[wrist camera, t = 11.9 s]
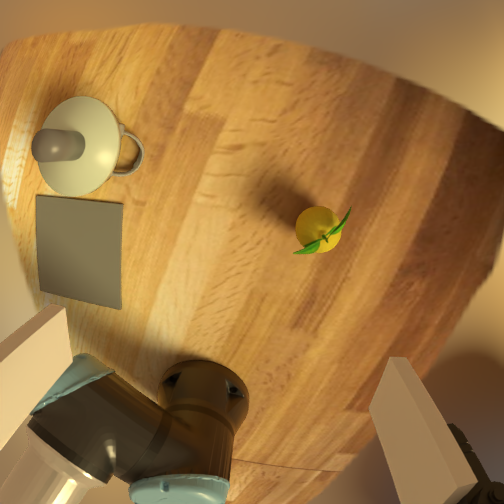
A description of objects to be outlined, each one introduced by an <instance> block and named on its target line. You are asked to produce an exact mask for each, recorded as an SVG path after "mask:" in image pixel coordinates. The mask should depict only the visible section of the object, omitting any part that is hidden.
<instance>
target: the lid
mask: <svg viewBox="0 0 504 504" xmlns="http://www.w3.org/2000/svg"><path fill="white" fill-rule="evenodd" d="M31 149H32V155H33V157H34V158H35V160H36V161H38V166H39V169H40V172H41V174H42V177H43V178H44V180H45V182H46V183H47V184H48V185H49V186H50V187H51V188H52V189H53V190H54V191H56V192H57V193H59V194H61V195H64V196H69V197H76V196H82V195H86V194H89V193H91V192H93V191H95V190H97V189H98V188H99V187H101V186H102V185H103V184H104V183H105V182H106V181H107V180H108V178H109V177H110V175H111V174H112V172H113V170H114V168H115V167H116V164H117V161H118V158H119V154H120V149H121V132H120V127H119V124H118V120H117V118H116V116H115V114H114V113H113V111H112V110H111V109H110V108H109V107H108V106H107V105H106V104H105V103H104V102H102V101H100V100H98V99H95V98H92V97H87V96H77V97H73V98H70V99H67V100H65V101H63V102H62V103H60V104H59V105H58V106H57V107H56V108H54V110H53V111H52V112H51V113H50V114H49V116H48V117H47V118H46V120H45V122H44V124H43V126H42V128H41V130H40V131H38V132H37V133H36V135H35V136H34V138H33V141H32V146H31Z"/></svg>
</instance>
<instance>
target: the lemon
mask: <svg viewBox="0 0 504 504" xmlns="http://www.w3.org/2000/svg"><path fill="white" fill-rule="evenodd" d="M351 207H352V206H351ZM351 207H350V209H349V211H348V213H347V214H346V216H345V217H344V219H343V220H342V221H341V223H340V221H339V219H338V217H337V215H336V214H335V213H334V212H333V211H331V210H330V209H328V208H326V207H321V206H315V207H310V208H308V209H306V210H304V211H303V212H302V213H301V214H300V215H299V216H298V219H297V221H296V227H295V231H296V236H297V239H298V240H299V242H300V244H301V245H302V246H303V247H304V249H302V250H300V251H297V252H294V253H293V254H311V253H314V252H315V253H323V252H327V251H329V250H331V249H332V248H334V247H335V245H336V244H337V243H338V241H339V239H340V237H341V231H342V228H343V227H344V225H345V223H346V220H347V219H348V216H349V214H350V211H351Z"/></svg>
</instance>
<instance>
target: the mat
mask: <svg viewBox="0 0 504 504" xmlns="http://www.w3.org/2000/svg"><path fill="white" fill-rule="evenodd" d="M122 218H123V204H118V203H109V202H99V201H90V200H80V199H70V198H60V197H49V196H39V195H38V196H36V236H37V257H38V271H39V282H40V290H41V291H44V292H48V293H52V294H56V295H59V296H63V297H67V298H71V299H75V300H79V301H84V302H88V303H92V304H96V305H101V306H105V307H109V308H114V309H118V310H121V309H122V306H121V243H122Z"/></svg>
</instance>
